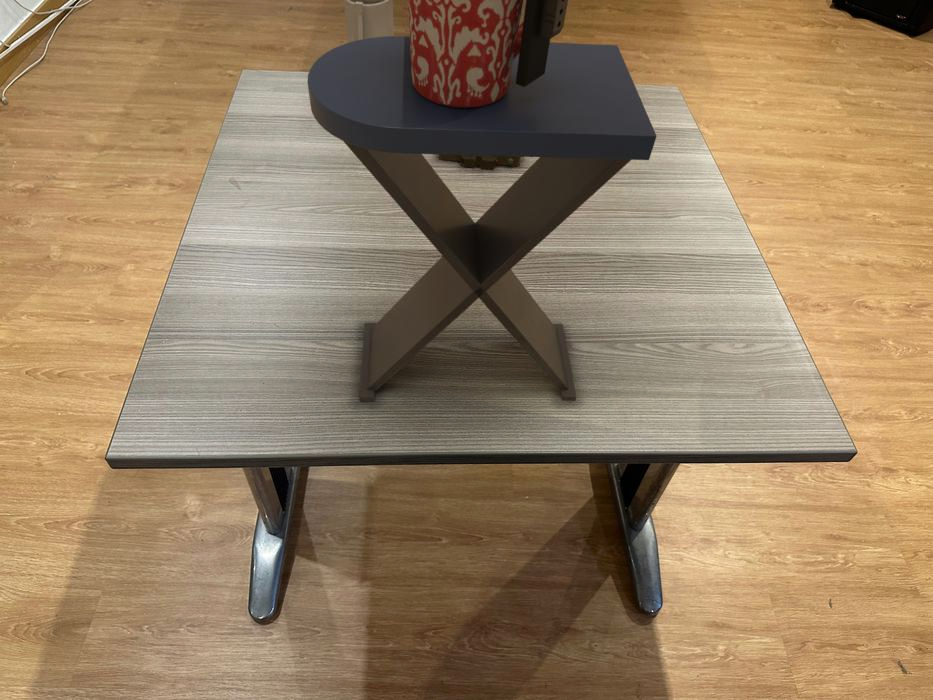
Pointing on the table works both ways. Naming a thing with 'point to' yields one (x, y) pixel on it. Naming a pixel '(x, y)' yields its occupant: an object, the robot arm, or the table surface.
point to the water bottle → (368, 19)
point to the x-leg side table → (514, 214)
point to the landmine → (483, 160)
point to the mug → (463, 49)
